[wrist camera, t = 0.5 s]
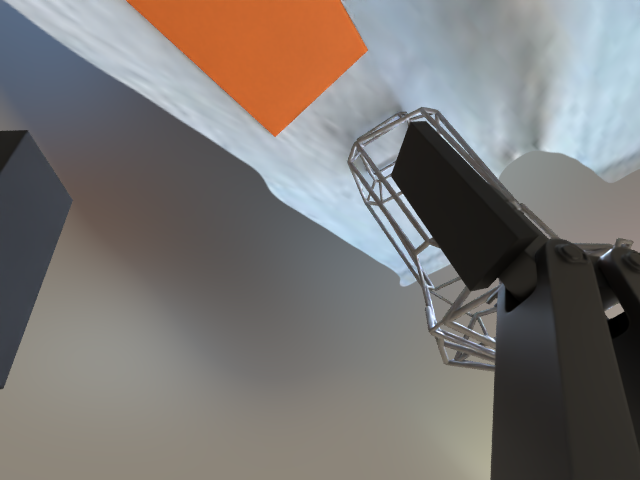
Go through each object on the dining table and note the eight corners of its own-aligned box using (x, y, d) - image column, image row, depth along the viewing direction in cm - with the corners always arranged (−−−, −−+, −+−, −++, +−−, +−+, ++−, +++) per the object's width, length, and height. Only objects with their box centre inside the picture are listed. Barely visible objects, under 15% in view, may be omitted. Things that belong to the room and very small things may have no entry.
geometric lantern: (355, 199, 53) (472, 419, 31) (319, 128, 41) (470, 407, 19) (439, 154, 50) (629, 359, 28) (427, 65, 38) (743, 301, 16)
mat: (111, -15, 25) (110, -14, 25) (229, -197, 21) (229, -198, 20) (274, 135, 40) (275, 137, 39) (366, 49, 35) (368, 50, 35)
